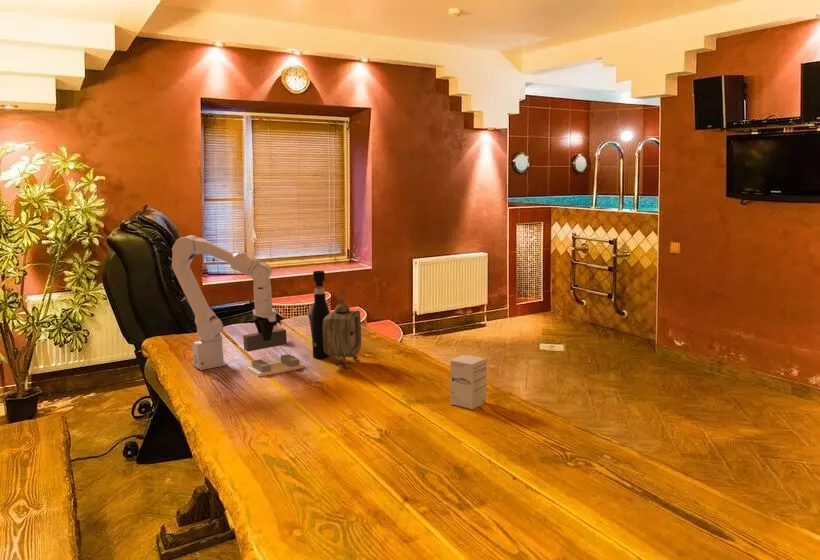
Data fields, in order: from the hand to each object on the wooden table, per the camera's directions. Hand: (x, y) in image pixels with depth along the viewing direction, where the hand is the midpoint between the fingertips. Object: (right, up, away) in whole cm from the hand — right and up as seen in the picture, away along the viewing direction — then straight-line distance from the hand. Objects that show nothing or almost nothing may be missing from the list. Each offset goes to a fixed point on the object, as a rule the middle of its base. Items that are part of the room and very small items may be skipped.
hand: (265, 339), depth 216 cm
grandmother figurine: (-4, -4, +32) cm, 33 cm away
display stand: (+5, -9, -5) cm, 12 cm away
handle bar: (0, -3, 0) cm, 3 cm away
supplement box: (+64, -14, -41) cm, 78 cm away
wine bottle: (+18, -7, +9) cm, 21 cm away
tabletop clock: (+26, -8, -1) cm, 28 cm away
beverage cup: (+14, -4, +26) cm, 30 cm away
